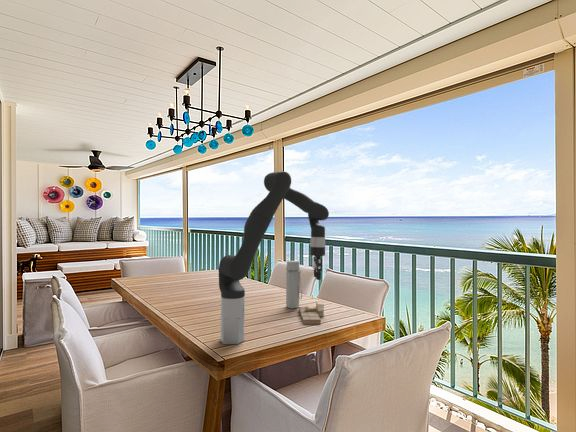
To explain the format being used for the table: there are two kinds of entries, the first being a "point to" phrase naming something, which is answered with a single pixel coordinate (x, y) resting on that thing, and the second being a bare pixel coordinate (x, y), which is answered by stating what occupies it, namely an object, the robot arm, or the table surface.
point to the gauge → (317, 308)
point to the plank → (309, 316)
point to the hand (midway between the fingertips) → (317, 278)
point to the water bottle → (293, 284)
